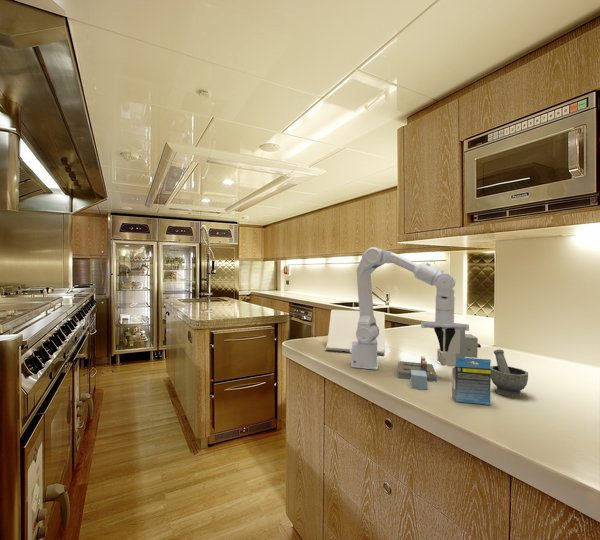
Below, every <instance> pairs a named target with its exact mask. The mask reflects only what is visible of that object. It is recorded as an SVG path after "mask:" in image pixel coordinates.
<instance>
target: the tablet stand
mask: <svg viewBox="0 0 600 540" xmlns="http://www.w3.org/2000/svg"><path fill="white" fill-rule="evenodd" d="M373 312H374V317H375V319H376V324H377V326H378V328H379V335H378V337H377V338H376V340H377V355H380V354H384V355H385V328H386V327H385V322H386V321H385V320H386V319H385V312H384V311H373ZM359 317H360V313H359V310H346V309H331V311H330V317H329V327H328V336H327V342H326V343H327V344H325V350H326V351H331V352H342V351H345V353H351V352H352V342H353V341H358V339H357V337H356V330H357V328H358V320H359Z"/></svg>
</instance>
